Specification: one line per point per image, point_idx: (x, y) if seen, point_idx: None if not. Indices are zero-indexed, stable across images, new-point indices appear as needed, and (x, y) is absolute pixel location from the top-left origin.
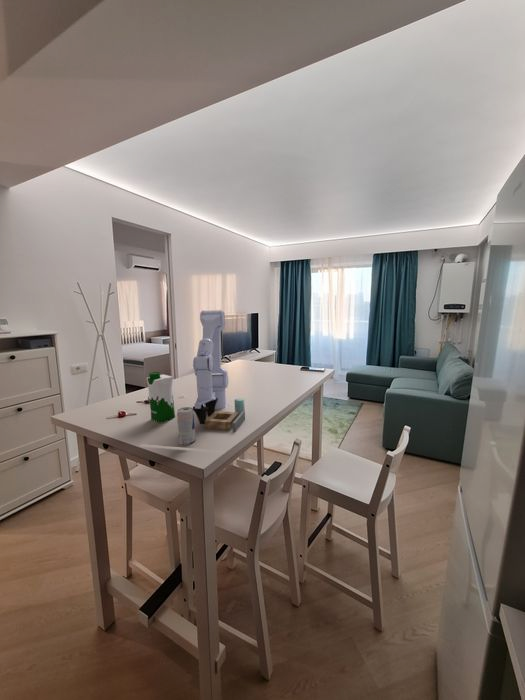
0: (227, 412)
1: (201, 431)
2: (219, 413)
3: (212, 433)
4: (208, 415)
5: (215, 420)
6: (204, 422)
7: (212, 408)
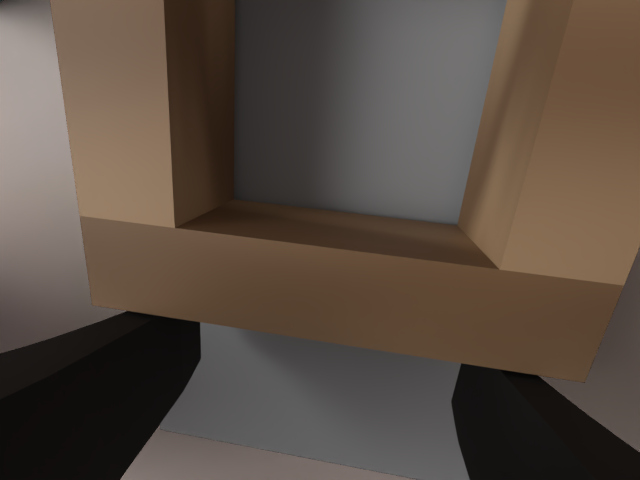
0: (87, 12)
1: None
2: (175, 194)
3: None
4: (192, 365)
5: (612, 164)
6: None
7: (93, 386)
